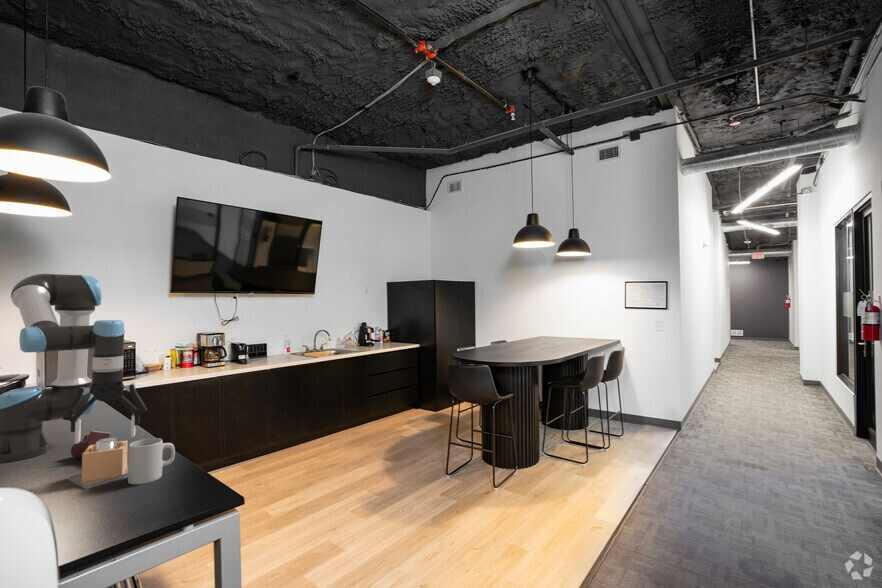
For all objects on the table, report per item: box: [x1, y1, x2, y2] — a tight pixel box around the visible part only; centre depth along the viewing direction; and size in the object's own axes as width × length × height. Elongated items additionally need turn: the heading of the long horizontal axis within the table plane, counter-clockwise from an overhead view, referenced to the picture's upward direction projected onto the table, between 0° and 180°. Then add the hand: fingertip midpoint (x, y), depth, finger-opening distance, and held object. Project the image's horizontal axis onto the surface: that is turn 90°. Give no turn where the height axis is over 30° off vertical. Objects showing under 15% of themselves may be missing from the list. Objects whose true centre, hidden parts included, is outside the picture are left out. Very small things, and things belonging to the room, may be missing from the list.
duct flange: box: [68, 437, 128, 490], centre depth 129 cm, size 12×14×11 cm
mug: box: [127, 437, 176, 486], centre depth 129 cm, size 12×8×11 cm
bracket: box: [70, 430, 111, 459], centre depth 144 cm, size 6×17×10 cm, turn 73°
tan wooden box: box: [81, 440, 129, 482], centre depth 129 cm, size 10×10×8 cm
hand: (106, 439), depth 130 cm, fingers open, 13 cm apart
